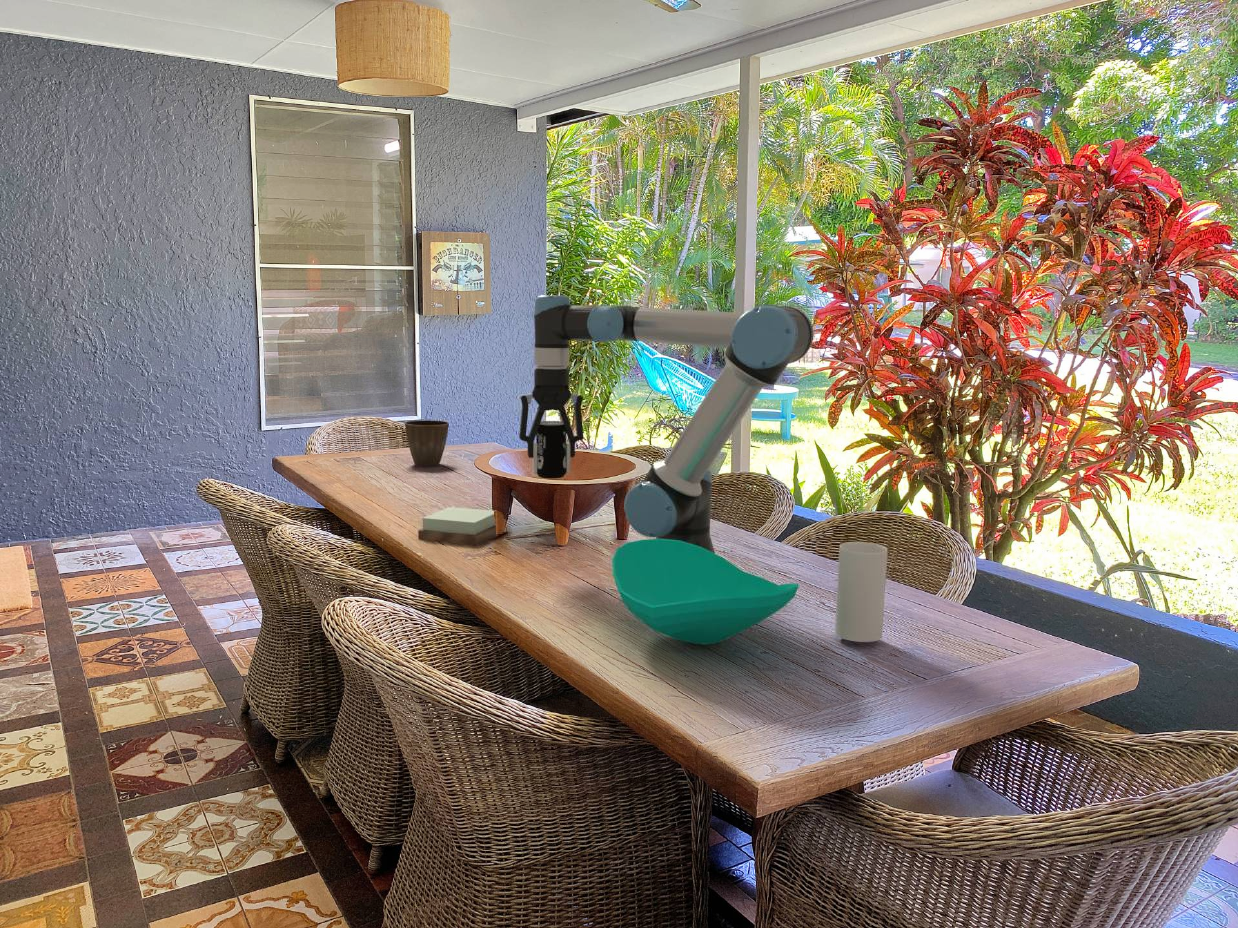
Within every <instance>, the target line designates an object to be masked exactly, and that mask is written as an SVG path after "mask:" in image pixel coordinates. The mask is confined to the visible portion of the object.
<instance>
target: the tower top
mask: <svg viewBox="0 0 1238 928" xmlns="http://www.w3.org/2000/svg"><path fill="white" fill-rule="evenodd" d="M494 511H495V510H489V509H478V508H476V509H475V508H468V507H467V508H464V507H453V506H449V507H446V508H444V509H441V510H438V511H437V512H434V513H431V514H429V515H426V516H424V517H422V529H423V530H429V531H439V532H449V533H460V534H471V535H476V534H478V533H480V532H482V531H484V530H486V529H488V528H490V527H492V526H494V525H495V518H494Z"/></svg>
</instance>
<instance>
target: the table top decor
mask: <svg viewBox="0 0 1238 928" xmlns="http://www.w3.org/2000/svg"><path fill="white" fill-rule="evenodd" d="M611 563H612V576H613V579H614V583H615V586H616V588H617V591H618V593H619V596H620V598H621V602H622V603H623V604H624V605H625V607H626V608H627V610H628V611H629V612H630V613H631V614H632V615H634V616H635V617H636V618H637V619H638V620H640V621H641V622H642V623H643V624H645V625H646V626H648V628H650V630H652V631H655V632H657V633H659V634H661V635H664V636H667V637H670V638H672V639H674V640H676V641H677V640H678V641H681V642H687V643H691V644H695V645H696V644H697V645H712V644H718V643H722V642H725V641H726V640H728V639H730V638H732V637H734V636H735V635H738V634H740V633H742V632H744V631H746V630H748V629H750V628H752V627H753V626H755V625H757V624H759V623H761V622H763V621H764V620H766V619H767V618H768V617H771V616H772V615H773V614H775V613H777V612H779V611H780V610H782V609H783V608H784V607H785V606H787V604H788V603H789V602H791V601H792V600H793V599H794V598H795V597H796V593H797V591H798V589H799V584H798V583H799V582H791V583H784V584H783V583H782V584H777V583H774V581H773V582H772V581H770V580H768V579H765V578H763V577H760V576H758V575H755V574H753V573H749V572H746V571H743V569H741V568H739V567H737V566H736V565H735V564H733V563H732V562H731V561H729V560H727V559H725V557H722V556H720V555H718V554H717V553H716V552H715V553H712V552H710V551H708V550H706V549H704V548H702V547H700V546H696V545H693V544H690V543H686V542H683V541H679V540H669V539H656V538H649V539H647V538H646V539H638V540H634V541H629V542H627V543H625V544H623V545H621V546H620V547H617V548H616V550H615V553H614V555H613V557H612V560H611Z"/></svg>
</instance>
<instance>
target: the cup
mask: <svg viewBox="0 0 1238 928" xmlns="http://www.w3.org/2000/svg"><path fill="white" fill-rule="evenodd" d="M887 566H888V548H887V547H886V546H885V545H881V544H877V543H873V542H868V541H867V542H866V541H847V542H843V543H841V544H840V545H839V552H838V566H837V567H838V571H837V585H836V586H837V590H836V606H835V607H836V608H835V621H834V622H835V623H834V625H835V626H834V633H835V635H836V636H837V637H839V638H840V639H843V640H847V641H850V642H856V643H857V642H858V643H872V642H877V641H879V640H881V639H883V629H884V628H883V627H884V616H885V615H884V612H885V611H884V610H885V599H886V598H885V597H886V584H887V583H886V582H887V581H886V580H887V569H888V567H887Z"/></svg>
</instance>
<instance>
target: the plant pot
mask: <svg viewBox="0 0 1238 928" xmlns="http://www.w3.org/2000/svg"><path fill="white" fill-rule="evenodd" d="M449 425H450V423H449V422H448V421H444V420H431V419H430V420H428V419H426V420H424V419H423V420H409V421H405V422H404V426H405V434H406V439H407V445H408V447H409V451H410V454H411V458H412V461H413V463H414V466H416V467H419V468H434V467H438V465H439V466H440V464H441V461H442V458H443V455H444V451H445V448H446V444H447V443H446V442H447V439H448V433H449V428H450V427H449Z"/></svg>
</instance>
